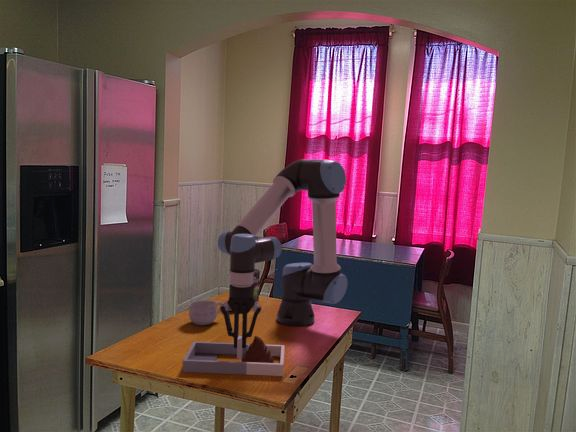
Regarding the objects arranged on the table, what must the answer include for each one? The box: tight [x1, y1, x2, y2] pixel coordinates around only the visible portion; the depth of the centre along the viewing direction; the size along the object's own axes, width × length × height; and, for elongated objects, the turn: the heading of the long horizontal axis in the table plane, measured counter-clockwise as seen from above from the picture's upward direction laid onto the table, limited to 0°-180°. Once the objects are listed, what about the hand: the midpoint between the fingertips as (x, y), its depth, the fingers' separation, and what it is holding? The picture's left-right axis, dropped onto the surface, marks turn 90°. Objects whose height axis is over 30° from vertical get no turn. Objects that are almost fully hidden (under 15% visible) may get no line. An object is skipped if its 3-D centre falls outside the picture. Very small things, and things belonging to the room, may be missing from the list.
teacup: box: [188, 299, 224, 326], centre depth 198 cm, size 14×11×8 cm
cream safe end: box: [246, 343, 285, 377], centre depth 161 cm, size 11×16×4 cm
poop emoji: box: [241, 335, 274, 363], centre depth 160 cm, size 10×8×9 cm
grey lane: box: [182, 341, 251, 376], centre depth 161 cm, size 19×16×4 cm
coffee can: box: [253, 268, 261, 304], centre depth 229 cm, size 10×10×14 cm
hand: (239, 357), depth 161 cm, fingers closed
